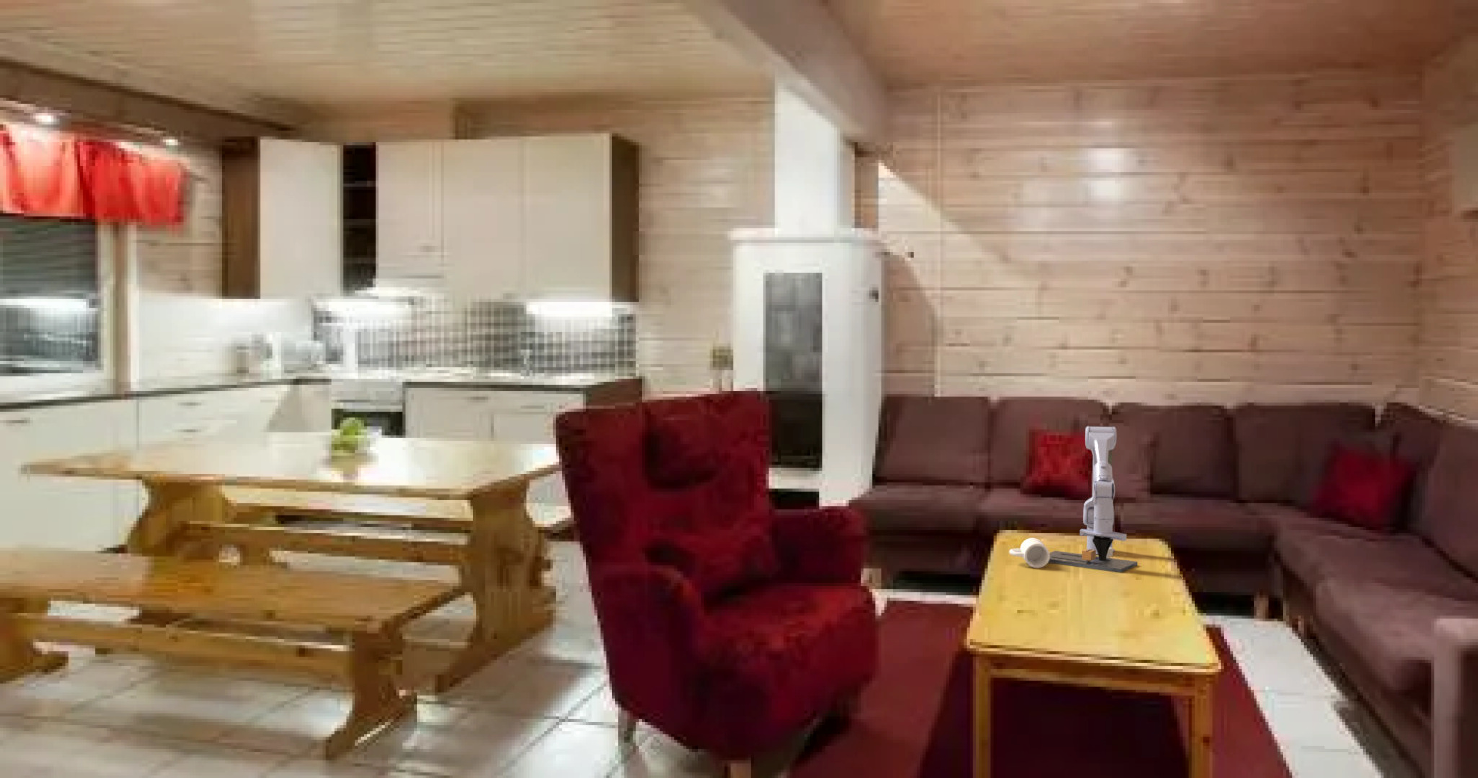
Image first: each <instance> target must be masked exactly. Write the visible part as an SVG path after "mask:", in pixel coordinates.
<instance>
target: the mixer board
mask: <svg viewBox="0 0 1478 778" xmlns="http://www.w3.org/2000/svg"><path fill="white" fill-rule="evenodd" d="M1049 553H1050V559H1049V561H1048V563H1049V564H1050V563H1051V564H1056V565H1064V566H1070V567H1078V568H1084V569H1085V568H1086V569H1092V570H1098V571H1107V572H1112V573H1113V572H1114V573H1120V574H1121V573H1124V572H1126V571H1128V570H1131V569H1132V568H1135V567H1137V566H1138V561H1134V560H1127V559H1119V558H1115V557H1114V558H1112V557H1110V558H1108V559H1106V560H1105V561H1099V556H1098V555H1096V559H1094V560H1091V561H1090V562H1088V561H1087V560H1082V553H1077V552H1076V553H1075V552H1068V551H1061V550H1054V551H1050V552H1049ZM1048 563H1047V564H1048Z"/></svg>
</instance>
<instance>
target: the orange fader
mask: <svg viewBox="0 0 1478 778" xmlns="http://www.w3.org/2000/svg"><path fill="white" fill-rule="evenodd" d="M1081 554H1082V560H1087V561H1088V562H1090V561H1091V560H1094V559H1096V556H1097V554H1096V550H1092V549H1087V548H1085V549H1083V550H1081Z"/></svg>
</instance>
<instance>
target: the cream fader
mask: <svg viewBox="0 0 1478 778" xmlns="http://www.w3.org/2000/svg"><path fill="white" fill-rule="evenodd" d="M1113 549H1114V548H1113V547H1112V548H1110V547H1109V550H1108V553H1107V556H1106V559H1108V558H1112V557H1113V556H1114V554H1113V553H1114V552H1113Z"/></svg>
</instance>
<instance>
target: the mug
mask: <svg viewBox="0 0 1478 778" xmlns="http://www.w3.org/2000/svg"><path fill="white" fill-rule="evenodd" d="M1008 553H1009V554H1010V555H1011V556H1013V557H1019V558H1022V559H1023V560H1024V561H1025V563H1026V564H1027V565H1028V566H1029V567H1031V568H1035V569H1039V568H1040V569H1041V568H1043V567H1045V566H1046V565H1047V564H1048V561H1049V559H1050V553H1051V552H1050V551H1049V549H1048V548H1047V546H1046V545H1045V544H1044V543H1043V542H1042V540H1040V539H1038V538H1035V537H1029V538H1027V539H1025V540H1024V541H1022V543H1021V545H1020V548H1019V547H1018V548H1010V550H1009V551H1008Z"/></svg>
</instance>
